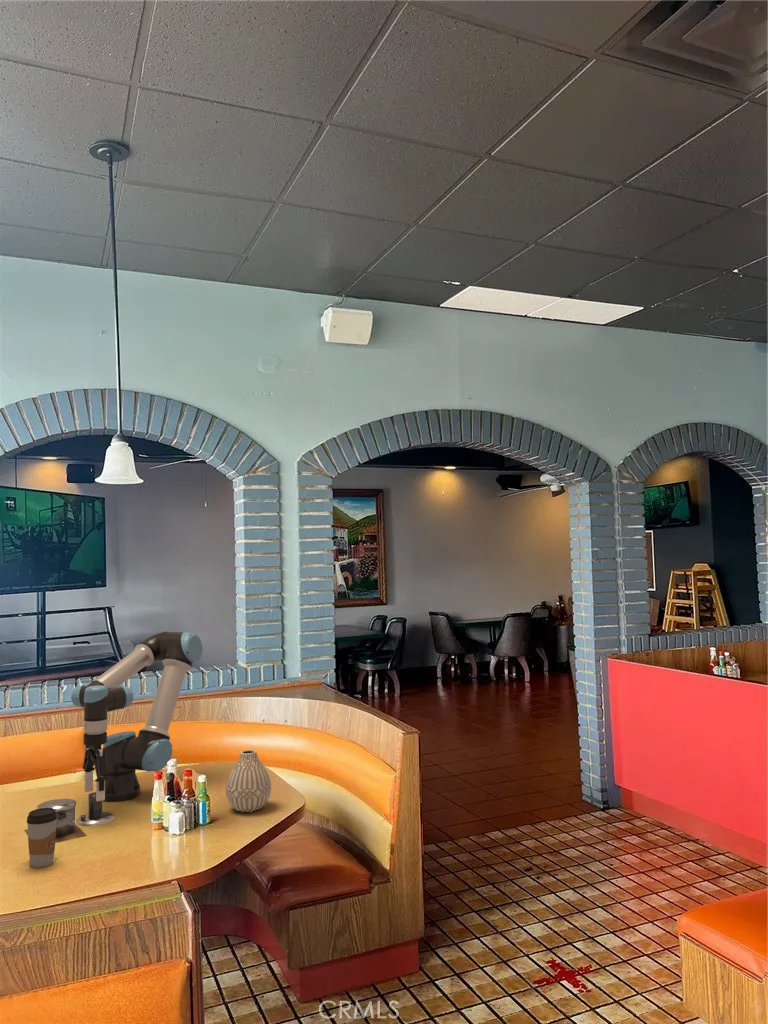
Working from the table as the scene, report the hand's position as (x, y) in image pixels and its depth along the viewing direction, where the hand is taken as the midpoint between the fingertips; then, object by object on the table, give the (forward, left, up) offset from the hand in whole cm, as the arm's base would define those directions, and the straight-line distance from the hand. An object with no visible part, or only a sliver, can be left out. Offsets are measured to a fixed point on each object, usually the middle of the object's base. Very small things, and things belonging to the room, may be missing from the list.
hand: (94, 795), depth 263 cm
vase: (-47, +21, -9) cm, 53 cm away
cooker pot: (+13, +4, -8) cm, 16 cm away
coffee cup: (+23, +27, -9) cm, 36 cm away
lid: (0, 0, -9) cm, 9 cm away
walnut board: (+14, +4, -9) cm, 17 cm away
